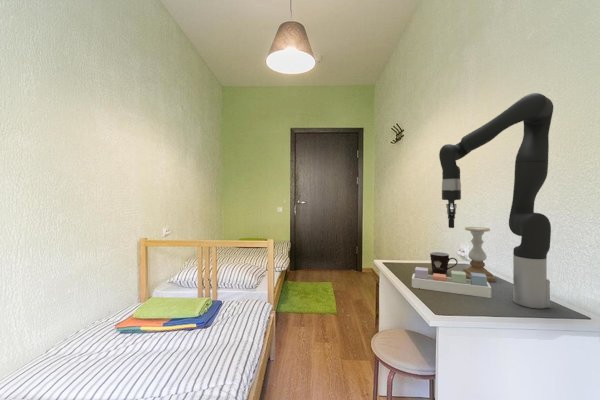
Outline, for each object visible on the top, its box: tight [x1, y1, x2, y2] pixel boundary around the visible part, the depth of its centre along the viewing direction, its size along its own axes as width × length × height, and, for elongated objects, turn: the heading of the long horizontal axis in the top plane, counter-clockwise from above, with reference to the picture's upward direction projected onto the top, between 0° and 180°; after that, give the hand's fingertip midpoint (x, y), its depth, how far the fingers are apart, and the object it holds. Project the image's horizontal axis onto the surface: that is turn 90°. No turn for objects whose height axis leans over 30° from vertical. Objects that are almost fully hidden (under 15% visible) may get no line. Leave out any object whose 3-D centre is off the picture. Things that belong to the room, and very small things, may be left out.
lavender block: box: [414, 266, 429, 280], centre depth 119 cm, size 5×5×4 cm
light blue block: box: [471, 273, 487, 287], centre depth 110 cm, size 5×5×4 cm
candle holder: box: [460, 226, 496, 283], centre depth 130 cm, size 11×11×24 cm
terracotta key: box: [432, 272, 447, 282], centre depth 116 cm, size 5×5×4 cm
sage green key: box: [450, 270, 466, 284], centre depth 113 cm, size 5×5×4 cm
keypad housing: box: [411, 273, 492, 299], centre depth 115 cm, size 28×8×4 cm, turn 63°
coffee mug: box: [429, 251, 458, 276], centre depth 137 cm, size 12×9×10 cm
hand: (451, 227), depth 123 cm, fingers closed
